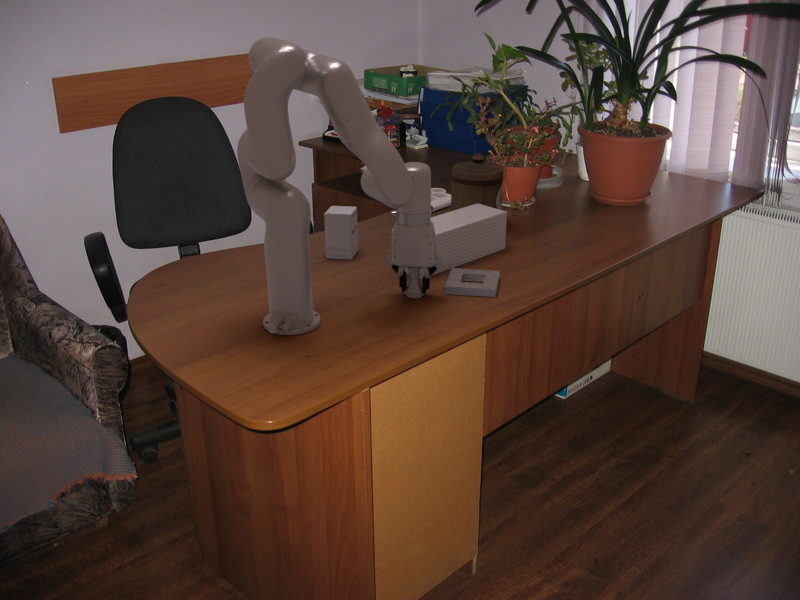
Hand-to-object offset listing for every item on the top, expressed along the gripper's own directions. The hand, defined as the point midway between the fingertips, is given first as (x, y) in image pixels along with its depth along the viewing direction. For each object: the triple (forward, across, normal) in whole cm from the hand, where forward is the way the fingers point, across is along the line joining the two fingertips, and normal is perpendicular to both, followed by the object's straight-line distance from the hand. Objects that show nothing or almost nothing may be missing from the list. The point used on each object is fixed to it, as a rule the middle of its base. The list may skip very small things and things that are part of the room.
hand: (414, 290), depth 195 cm
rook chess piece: (+2, 0, 0) cm, 2 cm away
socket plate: (+1, +13, +8) cm, 15 cm away
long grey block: (+2, +5, +26) cm, 27 cm away
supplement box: (+2, -24, +24) cm, 34 cm away
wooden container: (+2, +9, +52) cm, 53 cm away
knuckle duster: (+2, -8, +73) cm, 73 cm away
